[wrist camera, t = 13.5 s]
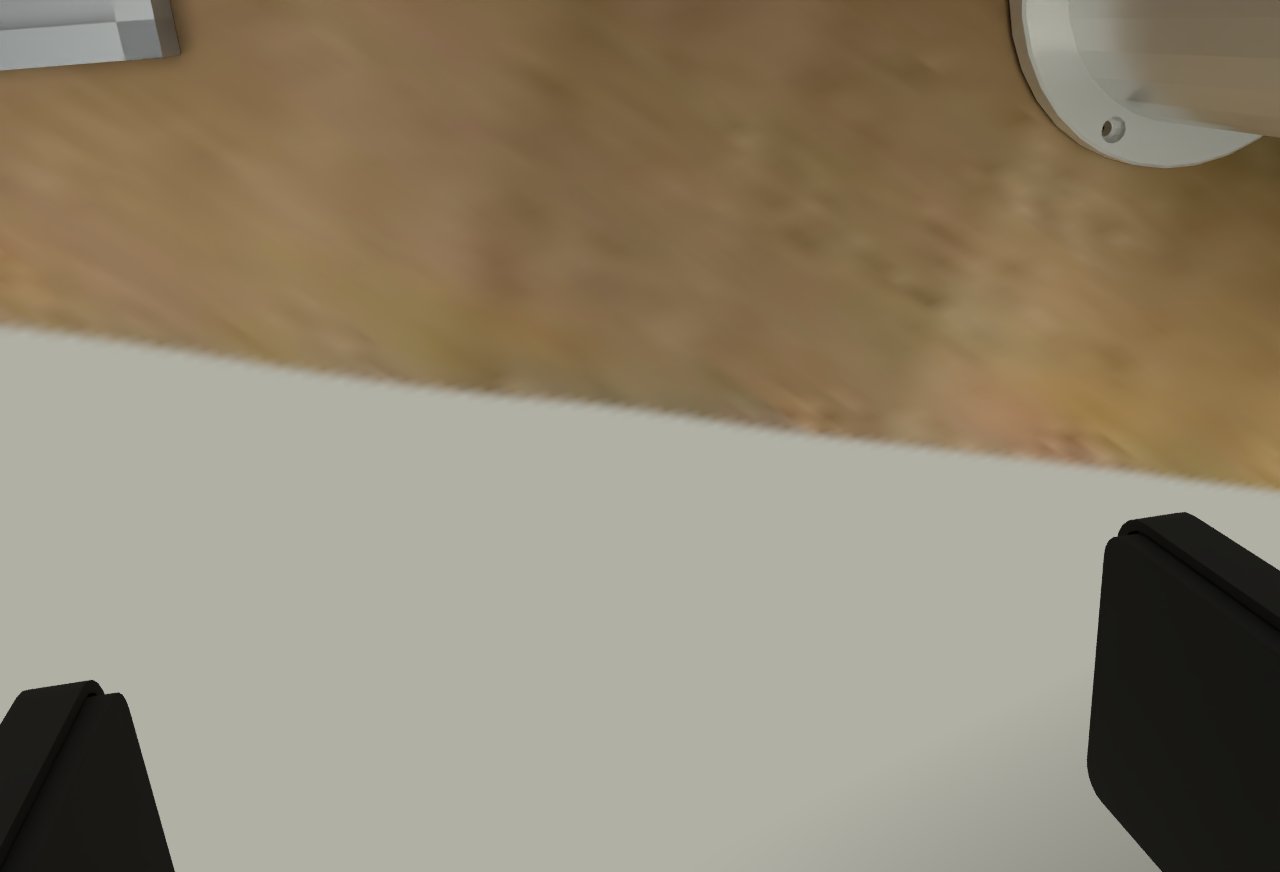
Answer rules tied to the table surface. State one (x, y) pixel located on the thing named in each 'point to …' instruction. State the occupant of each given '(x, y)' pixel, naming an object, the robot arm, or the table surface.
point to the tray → (84, 32)
